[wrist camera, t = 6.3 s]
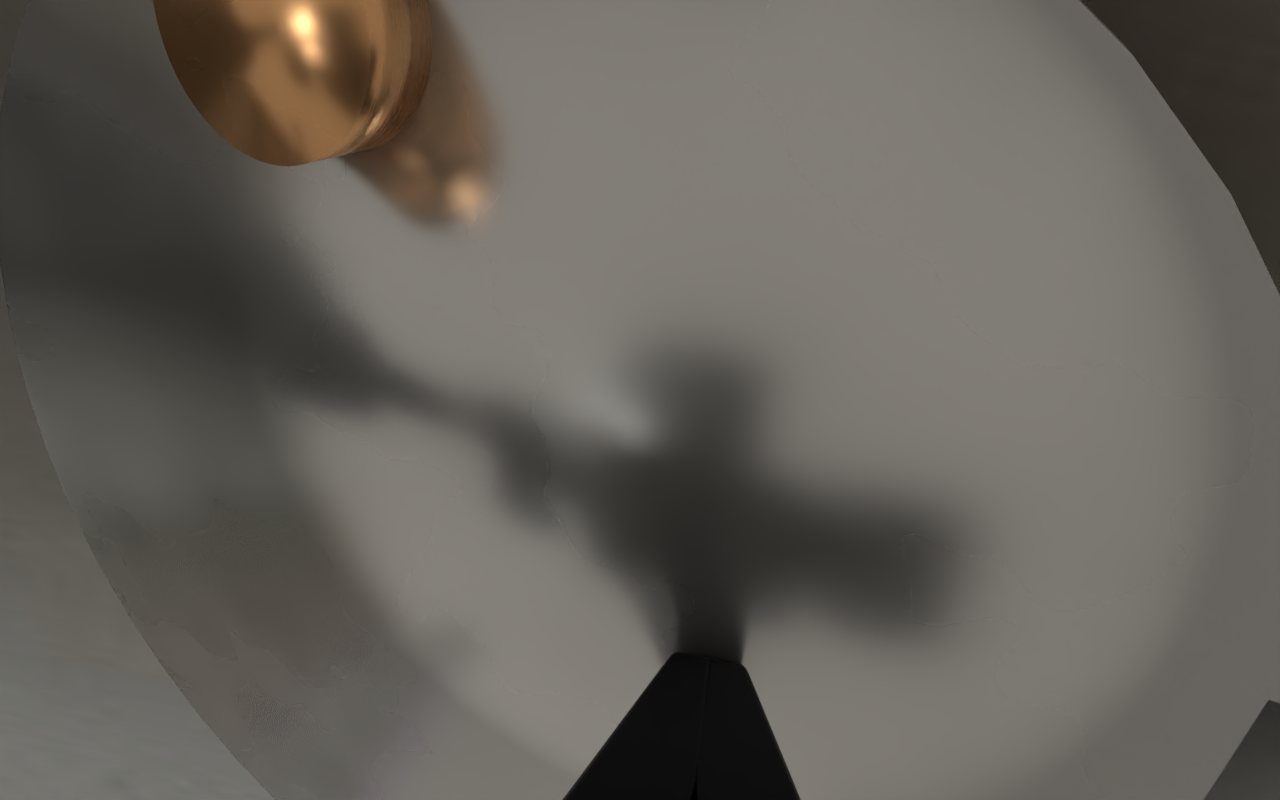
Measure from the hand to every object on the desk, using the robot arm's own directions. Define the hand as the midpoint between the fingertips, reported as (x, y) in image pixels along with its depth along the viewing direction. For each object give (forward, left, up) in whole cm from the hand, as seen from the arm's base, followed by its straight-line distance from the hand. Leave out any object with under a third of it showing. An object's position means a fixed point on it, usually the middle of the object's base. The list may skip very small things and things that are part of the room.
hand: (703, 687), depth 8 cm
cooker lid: (-1, -1, -2) cm, 2 cm away
